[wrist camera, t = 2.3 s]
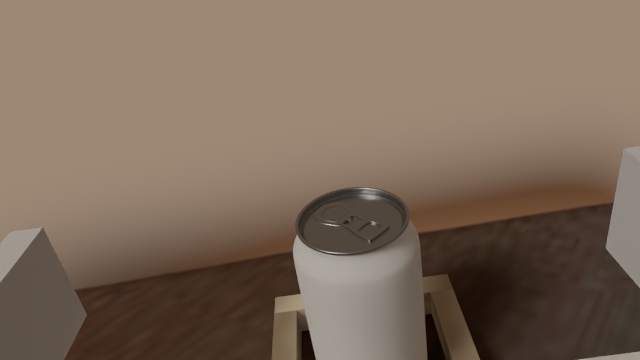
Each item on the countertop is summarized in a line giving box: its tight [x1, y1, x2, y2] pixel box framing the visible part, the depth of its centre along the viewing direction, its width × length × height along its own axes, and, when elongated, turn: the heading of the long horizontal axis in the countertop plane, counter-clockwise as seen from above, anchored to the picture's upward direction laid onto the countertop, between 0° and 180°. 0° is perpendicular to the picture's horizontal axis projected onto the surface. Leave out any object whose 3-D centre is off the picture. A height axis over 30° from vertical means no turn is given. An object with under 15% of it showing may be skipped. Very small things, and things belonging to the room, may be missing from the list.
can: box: [293, 187, 427, 360], centre depth 28 cm, size 6×6×12 cm
